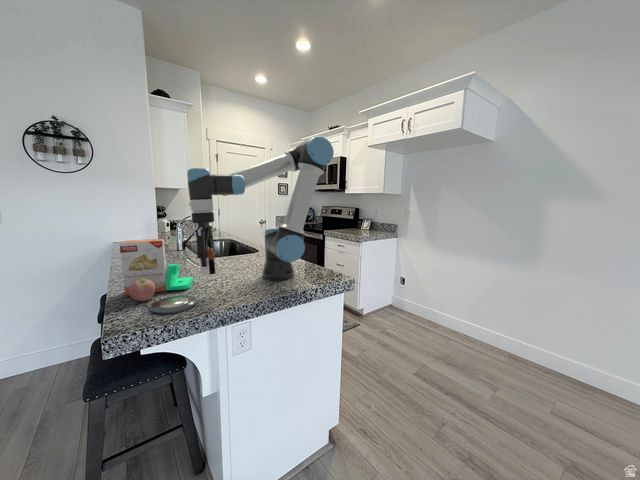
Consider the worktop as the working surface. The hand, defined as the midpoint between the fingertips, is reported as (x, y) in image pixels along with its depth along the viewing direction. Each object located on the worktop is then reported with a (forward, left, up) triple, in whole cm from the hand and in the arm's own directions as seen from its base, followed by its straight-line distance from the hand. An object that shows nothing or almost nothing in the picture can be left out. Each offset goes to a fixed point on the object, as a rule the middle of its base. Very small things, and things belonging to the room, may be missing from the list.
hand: (208, 271), depth 101 cm
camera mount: (+15, -12, -10) cm, 21 cm away
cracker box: (+26, -8, -9) cm, 28 cm away
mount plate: (+10, +9, -9) cm, 16 cm away
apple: (+23, +2, -9) cm, 25 cm away
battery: (0, 0, -1) cm, 1 cm away
